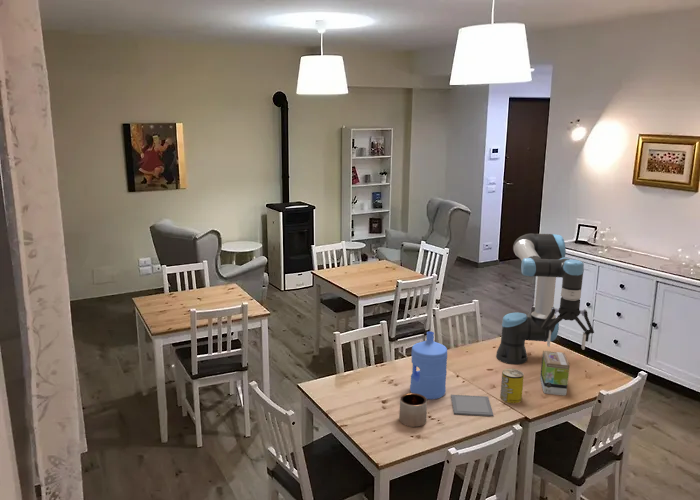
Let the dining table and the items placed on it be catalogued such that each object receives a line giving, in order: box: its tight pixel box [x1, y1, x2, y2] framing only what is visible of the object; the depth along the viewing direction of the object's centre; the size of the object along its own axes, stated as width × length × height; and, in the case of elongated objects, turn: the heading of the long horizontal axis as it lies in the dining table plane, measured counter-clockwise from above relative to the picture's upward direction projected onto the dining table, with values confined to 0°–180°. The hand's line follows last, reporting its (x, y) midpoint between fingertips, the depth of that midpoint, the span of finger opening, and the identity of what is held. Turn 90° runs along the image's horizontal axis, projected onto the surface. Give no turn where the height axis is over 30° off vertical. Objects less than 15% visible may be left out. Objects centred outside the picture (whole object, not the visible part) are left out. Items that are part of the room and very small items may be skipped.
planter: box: [398, 392, 428, 428], centre depth 232 cm, size 11×11×10 cm
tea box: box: [539, 350, 571, 396], centre depth 262 cm, size 15×10×15 cm
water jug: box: [409, 331, 448, 400], centre depth 254 cm, size 16×16×28 cm
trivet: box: [450, 394, 495, 417], centre depth 245 cm, size 16×16×1 cm
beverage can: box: [499, 368, 525, 404], centre depth 251 cm, size 9×9×12 cm
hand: (565, 346), depth 240 cm, fingers open, 13 cm apart
